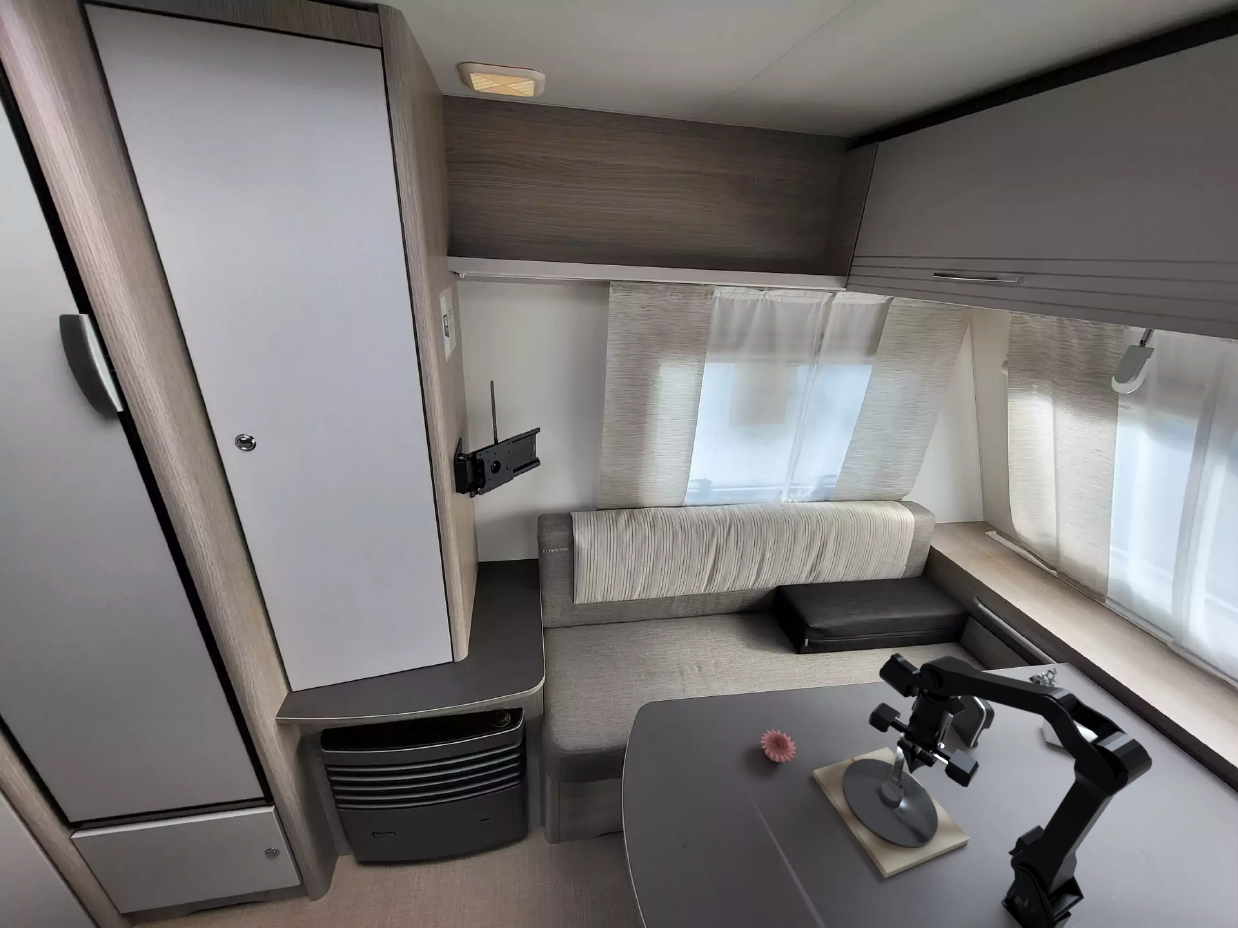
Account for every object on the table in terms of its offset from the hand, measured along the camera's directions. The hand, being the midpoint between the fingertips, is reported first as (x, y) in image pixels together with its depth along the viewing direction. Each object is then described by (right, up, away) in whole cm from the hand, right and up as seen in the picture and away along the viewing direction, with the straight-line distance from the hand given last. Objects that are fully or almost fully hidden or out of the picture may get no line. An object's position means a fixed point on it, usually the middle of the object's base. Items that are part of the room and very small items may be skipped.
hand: (911, 771), depth 105 cm
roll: (+45, -2, +13) cm, 47 cm away
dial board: (-7, -5, -3) cm, 9 cm away
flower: (-26, -1, +6) cm, 27 cm away
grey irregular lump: (+49, +4, +29) cm, 57 cm away
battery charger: (+21, 0, +14) cm, 25 cm away
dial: (-7, -4, -4) cm, 9 cm away
